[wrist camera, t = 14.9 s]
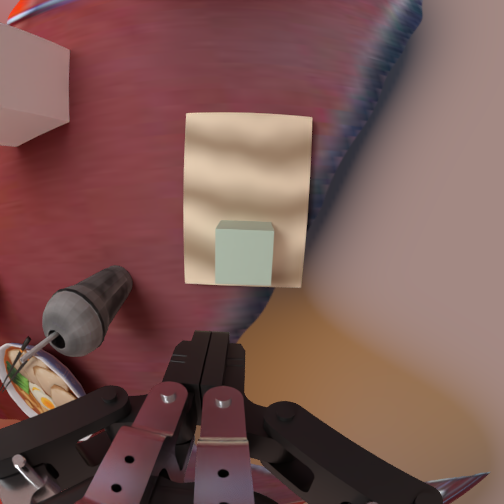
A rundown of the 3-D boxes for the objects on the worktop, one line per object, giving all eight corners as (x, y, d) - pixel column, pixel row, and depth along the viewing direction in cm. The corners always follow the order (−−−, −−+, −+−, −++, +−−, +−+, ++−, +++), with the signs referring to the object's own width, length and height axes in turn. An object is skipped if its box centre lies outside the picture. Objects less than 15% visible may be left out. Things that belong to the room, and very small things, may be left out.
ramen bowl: (74, 427, 46) (61, 452, 38) (3, 354, 41) (-17, 373, 33) (134, 396, 42) (119, 430, 34) (41, 297, 37) (12, 319, 29)
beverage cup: (139, 311, 37) (70, 411, 18) (94, 296, 37) (11, 378, 18) (145, 263, 35) (59, 349, 16) (97, 249, 35) (-5, 315, 16)
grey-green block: (220, 220, 32) (215, 228, 28) (270, 221, 32) (274, 230, 28) (220, 267, 34) (215, 283, 29) (268, 269, 34) (270, 285, 29)
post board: (189, 115, 31) (177, 105, 25) (309, 119, 31) (320, 110, 25) (187, 278, 36) (177, 296, 31) (299, 283, 36) (306, 301, 31)
